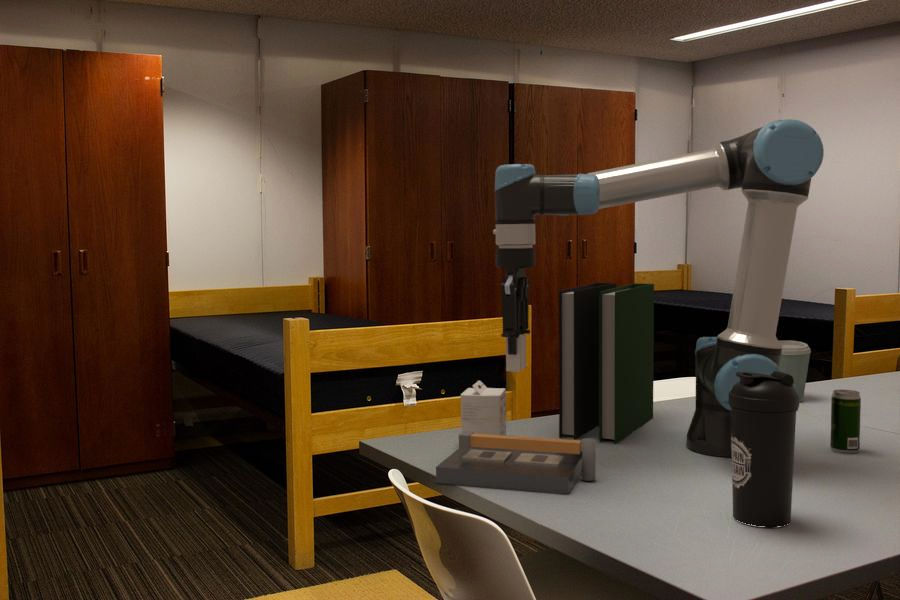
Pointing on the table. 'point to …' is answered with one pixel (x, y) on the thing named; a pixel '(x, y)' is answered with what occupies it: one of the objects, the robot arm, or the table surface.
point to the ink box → (483, 410)
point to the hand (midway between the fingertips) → (516, 369)
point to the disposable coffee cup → (795, 363)
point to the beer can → (845, 421)
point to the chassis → (511, 469)
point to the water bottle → (763, 447)
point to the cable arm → (536, 447)
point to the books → (606, 359)
